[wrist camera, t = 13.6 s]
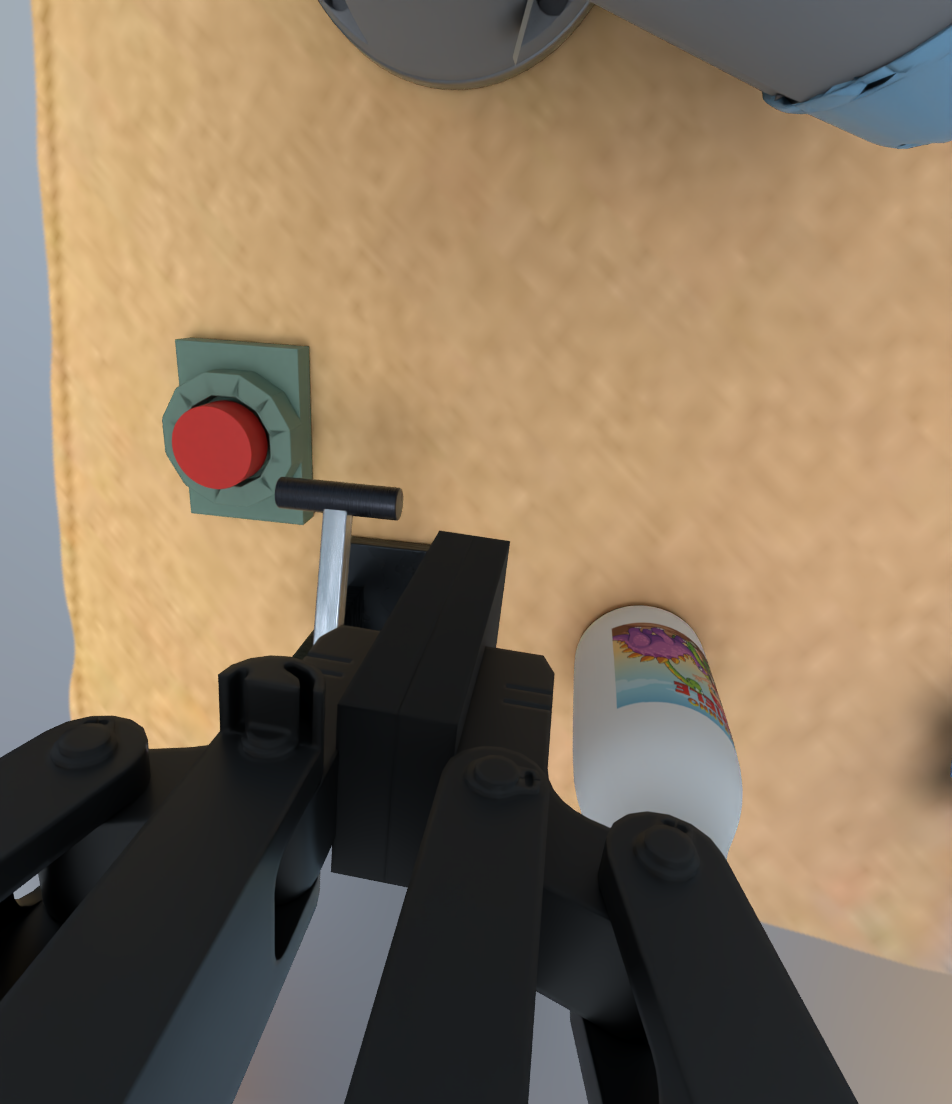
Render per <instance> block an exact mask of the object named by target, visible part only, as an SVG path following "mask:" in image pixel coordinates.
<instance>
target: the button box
mask: <svg viewBox="0 0 952 1104" xmlns="http://www.w3.org/2000/svg"><path fill="white" fill-rule="evenodd" d="M175 344H176V354H177V365H178V376H179V387H177V388H176V389H175V391H174V394H173V396H172V398H171V400H170V402H169V404H168V407H167V409H166V411H165V413H164V415H163V419H162V423H163V433H164V442H165V452H166V453H167V454H166V455H167V456H168V458H169V460H170V461H171V463H172V464H173V466H174V468H175V469H176V471H177V472H178V474H179V476H180V477H181V479H182V480H183V482H184V483H185V484H186V486H188V487H189V493H190V504H191V513H196V514H205V515H214V516H224V517H233V518H243V519H252V520H262V521H271V522H280V523H290V524H299V525H304V524H305V523H306V522H307V521H308V520H310V519H311V518H312V517H313V512H311V511H301V510H292V509H282V508H279V507H277V505H276V503H275V486H276V483H277V481H278V479H279V478H280V477H283V476H284V477H294V478H304V479H312V446H311V408H310V371H309V347H308V346H296V345H283V344H270V343H257V342H244V341H231V340H218V339H204V338H183V339H176V340H175ZM219 400H227V401H233V402H236V403H239V404H241V405H243V406H244V407H246V408H247V409H249V410H250V411H251V412H252V413H253V414H254V415H255V416H256V417H257V418H258V419H259V421H260V422H261V424H262V426H263V428H264V430H265V433H266V437H267V443H268V450H267V456H266V459H265V461H264V464H263V465H262V467H261V468H260V469H259V470H258V471H257V472H256V473H255V474H254V475H252V476H250V477H249V478H247V479H245V480H243V481H242V482H240V483H238V484H236V485H235V486H232V487H230V488H226V489H212V488H207V487H204V486H202V485H200V484H198V483H196V482H194V481H193V480H192V479H190V478H189V477H188V476H187V475H186V474H185V473H184V472H183V470H182V469H181V468H180V466H179V464H178V463H177V461H176V458H175V456H174V453H173V448H172V433H173V429H174V426H175V424H176V422H177V420H178V419H179V418H180V417H181V415H183V414H184V413H185V412H186V411H188V410H190V409H192V408H194V407H198V406H201V405H204V404H208V403H211V402H214V401H219Z"/></svg>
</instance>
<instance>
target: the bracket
mask: <svg viewBox="0 0 952 1104" xmlns="http://www.w3.org/2000/svg"><path fill="white" fill-rule="evenodd" d="M430 546H431V545H427V544H417V543H408V542H399V541H389V540H380V539H371V538H361V537H352V536H351V544H350V556H349V569H348V581H347V593H346V605H345V618H344V625H347V626H353V627H359V628H365V629H371V630H377V631H381V629H382V627H383V626H384V624H385V622H386V621H387V619H388V617H389V616H390V614H391V612H392V610H393V609H394V607H395V605H396V604H397V602H398V600H399V599H400V597H401V595H402V593H403V592H404V590H405V588H406V587H407V585H408V583H409V582H410V580H411V578H412V577H413V575H414V573H415V571H416V570H417V568H418V566H419V565H420V563H421V561H422V560H423V558H424V556H425V554H426V553H427V551H428V549H429V548H430ZM313 638H314V630H313V631H312V632H311V634H310V635H309V636H308V637H307V639H306V640H305V641H304V643H303V644H302V645H301V646H300V648H299V649H298V650H297V651H296V653H295V654H294V655H293V656H292V657H294V658H297V659H300V660H303V659H304V657H305V656H307V655H308V652H309V651H310V649H311V648H312V647H313Z"/></svg>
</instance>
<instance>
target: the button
mask: <svg viewBox="0 0 952 1104" xmlns="http://www.w3.org/2000/svg"><path fill="white" fill-rule="evenodd" d="M172 448H173V453H174V456H175V458H176V461H177V463H178V464H179V466H180V468H181V469H182V470H183V472H184V473H185V474H186V475H187V476H188V477H189V478H190V479H192V480H193V481H194V482H196V483H198V484H200V485H202V486H204V487H207V488H212V489H226V488H230V487H232V486H235V485H236V484H238V483H240V482H242V481H243V480H245V479H247V478H249V477H250V476H252V475H254V474H255V473H256V472H257V471H258V470H259V469H260V468H261V467H262V465H263V464H264V461H265V459H266V456H267V450H268V443H267V437H266V433H265V430H264V428H263V426H262V424H261V422H260V421H259V419H258V418H257V417H256V416H255V415H254V414H253V413H252V412H251V411H250V410H249V409H247V408H246V407H244V406H243V405H241V404H239V403H236V402H233V401H227V400H219V401H214V402H211V403H208V404H204V405H201V406H198V407H194V408H192V409H190V410H188V411H186V412H185V413H184V414H183V415H181V417H180V418H179V419H178V420H177V422H176V424H175V426H174V429H173V433H172Z"/></svg>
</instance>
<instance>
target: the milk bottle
mask: <svg viewBox="0 0 952 1104" xmlns="http://www.w3.org/2000/svg"><path fill="white" fill-rule="evenodd" d="M573 769H574V783H575V789H576V794H577V800H578V803H579V806H580V810H581V813H582V815H584V816H586V817H587V818H589V819H591V820H594V821H596V822H598V823H600V824H603V825H605V826H607V827H609V828H611V826H612V824H613V823H614V822H615V821H617V820H619V819H620V818H622V817H624V816H625V815H627V814H631V813H638V812H645V811H650V812H656V813H662V814H669V815H671V816H674V817H676V818H679V819H681V820H683V821H686V822H688V823H690V824H692V825H693V826H695V827H696V828H698V829H699V830H700V831H702V832H703V833H704V834H706V835H707V836H708V837H710V838H711V839H712V841H713V842H714V843H715V845H716V846H717V847H718V848H719V850H720V851H721V852H722V854H723V855H724V856H725V858H726V860H727V855H728V851H729V848H730V845H731V843H732V840H733V838H734V835H735V833H736V830H737V827H738V823H739V819H740V814H741V808H742V779H741V771H740V766H739V762H738V758H737V754H736V750H735V746H734V742H733V739H732V735H731V732H730V729H729V726H728V723H727V720H726V716H725V713H724V710H723V707H722V704H721V701H720V698H719V695H718V692H717V689H716V686H715V683H714V680H713V677H712V674H711V671H710V668H709V665H708V662H707V659H706V656H705V653H704V650H703V648H702V645H701V643H700V641H699V639H698V637H697V635H696V633H695V632H694V631H693V629H692V628H691V627H690V626H689V625H688V624H687V623H686V622H685V621H683V620H682V619H681V618H679V617H678V616H676V615H674V614H673V613H670V612H668V611H666V610H663V609H660V608H656V607H651V606H642V605H638V606H627V607H623V608H619V609H615V610H613V611H611V612H609V613H606V614H605V615H603V616H601V617H600V618H598V619H597V620H596V621H594V622H593V623H592V624H591V625H590V626H589V627H588V628H587V630H586V631H585V632H584V634H583V635H582V637H581V639H580V641H579V643H578V646H577V649H576V654H575V664H574V695H573Z"/></svg>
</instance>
